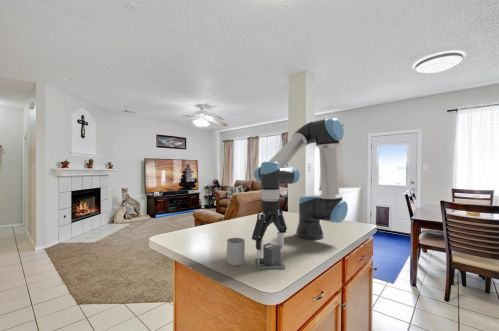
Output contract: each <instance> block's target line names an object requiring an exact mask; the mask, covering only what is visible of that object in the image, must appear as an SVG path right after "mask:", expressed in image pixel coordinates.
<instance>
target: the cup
mask: <svg viewBox="0 0 499 331" xmlns="http://www.w3.org/2000/svg"><path fill="white" fill-rule="evenodd" d="M245 242H246V241H245V239H244V238H242V237H230V238H228V239H227V240H226V263H227V264H228V265H230V266H232V265H233V267H237V266H238V265H239V266H242V265H243V264H244V263H245V257H246V256H245V254H246V252H245V250H246V249H245V248H246V246H245Z"/></svg>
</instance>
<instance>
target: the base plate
mask: <svg viewBox="0 0 499 331" xmlns="http://www.w3.org/2000/svg"><path fill="white" fill-rule="evenodd" d="M256 261H257V266H258V270H286V265H285V263H284V261H283V260H282V258H281V261H280V262H278V263H276V264H273V265H269V264H266V263H264V262H261V261H260V258H259V257H257V256H256Z"/></svg>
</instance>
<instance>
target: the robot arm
mask: <svg viewBox="0 0 499 331" xmlns="http://www.w3.org/2000/svg"><path fill="white" fill-rule="evenodd" d="M344 133H345V132H344V126H343V124H342V122H341V120H339V119H338V118H336V117H330V118H325V119H320V120H316V121H315V120H314V121H310V122H307V123H305V124H303V125H302V126H301V127H300V128H298V129H297V130H296V131H295V132H294V133H293V134H292V135H291V139H289V140H288V142H287V143H285V144H284V145H283V146H282V147H281V149H280V150H278V151H277V152H276V154H274V155H273V156H272V157H271V158H270V159H269V160H268V161H263V162H261V163H260V166H259V167H256V168H255V170H254V171H253V178H254V179H255V181H256V182H258V183H260V198H261V201H260V209H261V210H262V213H257V216H256V221H255V225H254V229H253V232H252V235H251V240H253V241H255V250H256V258H257V257H259V258H262V259H263V245H264V240H263V238H264V236H265V234H266V232H267V228H268V227H269V226H270V225H272V224H274V226H275V228H276V229H277V234H276V236H277V237H276V238H277V240H276V245H279V246H281V249H282V250H284V248H285V246H284V243H285V242H284V239H285V236H284V235H285V233H287V230H288V227H287V224H286V221H285V218H284V215H283V209H281V208H280V207H281V206H280V204H281V201H280V199H281V198H280V197H281V194H280V188H281V187H280V185H292V184H296V183H298V181H299V180H300V176H301V175H300V171H299V169H298V168H297V167H295V166H286V165H287V164H288V163H289V162H291V160H292V159H293V158H294V157H295V156H296V155H297V153H299V152H300V150H301V149H303V148H306V146H308V145H312V144H315V146H316V147H317V148H318V149H319V164H320V165H319V168H320V183H321V193H320V195H319V194H318V195H305V196H300V197H299V200H298V218H299V219H298V224H297V227H296V231H295V236H297V238H300V239H304V240H314V241H315V240H322V239H323V238H324V231H323V228H322V226H321V221H326V222H330V223H335V224H340V223H343V221H344V220H345V219H346V217H347V215H348V209H349V207H348V203H347V201H346V200H344V199H343V195H342V194H341V193H340V188H339V187H340V184H339V169H338V167H339V165H338V152H337V151H338V150H337V148H338V146H339V145H340V141H341V140H342V139H343V138H344V135H345V134H344Z"/></svg>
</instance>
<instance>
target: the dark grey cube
mask: <svg viewBox="0 0 499 331" xmlns="http://www.w3.org/2000/svg"><path fill="white" fill-rule="evenodd" d="M281 255H282V250H281V246H279V245H277V244H275V243H271V242H267V243H263V259H262V258H260V261H261V262H264V263H266V264H269V265H273V264H276V263H278V262H280V261H281V259H282V256H281Z"/></svg>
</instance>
